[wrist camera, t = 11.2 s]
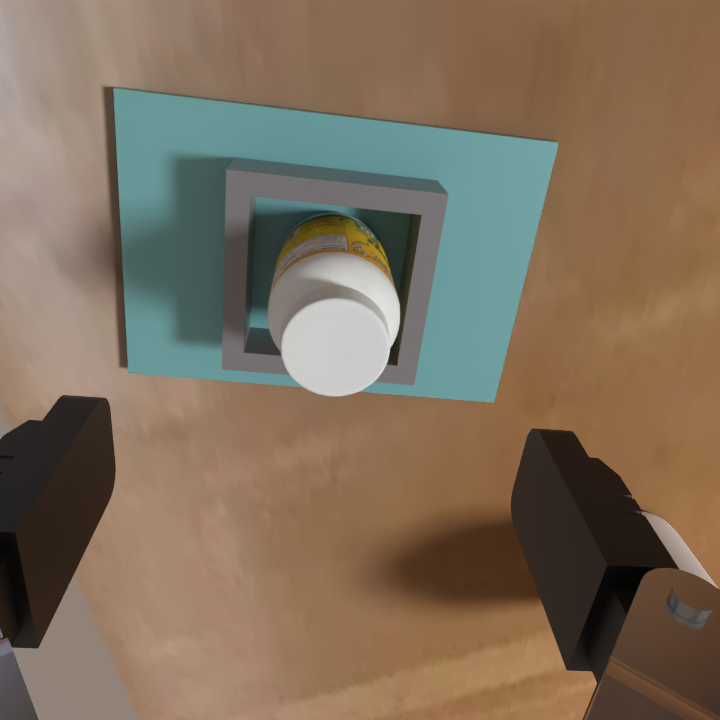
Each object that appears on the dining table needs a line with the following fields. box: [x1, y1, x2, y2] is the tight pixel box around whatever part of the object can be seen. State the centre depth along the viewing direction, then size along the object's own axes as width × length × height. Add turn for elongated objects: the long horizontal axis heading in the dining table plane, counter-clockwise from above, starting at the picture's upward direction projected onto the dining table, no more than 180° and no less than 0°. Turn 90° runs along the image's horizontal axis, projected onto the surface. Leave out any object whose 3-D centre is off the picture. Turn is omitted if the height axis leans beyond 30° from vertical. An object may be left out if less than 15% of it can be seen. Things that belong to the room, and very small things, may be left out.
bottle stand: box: [113, 87, 559, 403], centre depth 30 cm, size 20×14×4 cm
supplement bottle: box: [267, 212, 400, 396], centre depth 27 cm, size 5×5×10 cm
